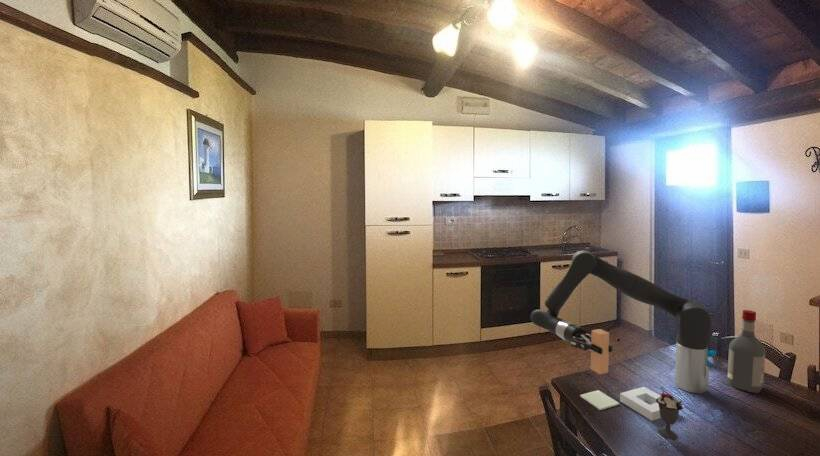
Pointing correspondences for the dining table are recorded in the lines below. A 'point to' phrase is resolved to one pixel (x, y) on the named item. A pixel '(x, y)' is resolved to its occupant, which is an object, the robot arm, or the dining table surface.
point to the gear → (710, 355)
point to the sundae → (668, 413)
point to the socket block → (642, 402)
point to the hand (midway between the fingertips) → (606, 350)
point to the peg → (598, 360)
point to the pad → (599, 400)
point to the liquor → (746, 357)
